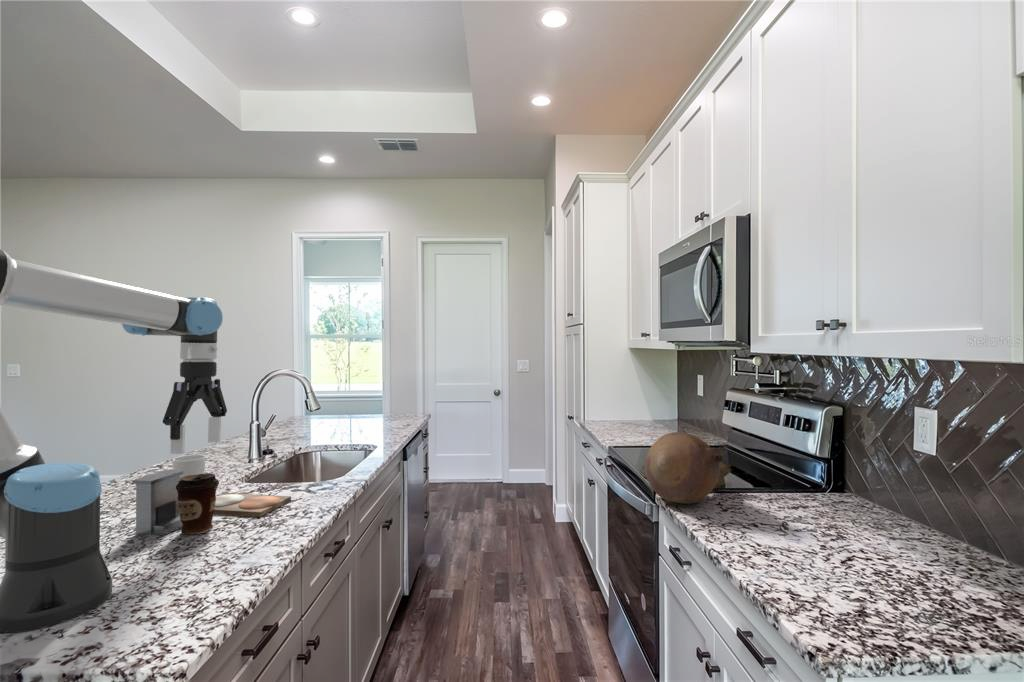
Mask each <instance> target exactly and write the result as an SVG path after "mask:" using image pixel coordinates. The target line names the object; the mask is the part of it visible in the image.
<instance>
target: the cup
mask: <svg viewBox="0 0 1024 682" xmlns="http://www.w3.org/2000/svg"><path fill="white" fill-rule="evenodd" d="M206 457H207V456H206V455H205V454H188V455H181V456H177V457H174V458H173V459H172V469H173V471H183V474H182V475H180V478H182V477H184V476H187V475H198V474H205V470H206V469H205V468H206V460H207V459H206Z"/></svg>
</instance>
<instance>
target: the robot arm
mask: <svg viewBox="0 0 1024 682" xmlns="http://www.w3.org/2000/svg"><path fill="white" fill-rule="evenodd" d="M0 306H7V307H11V308H12V307H13V308H20V309H25V310H32V311H37V312H45V313H52V314H57V315H63V316H71V317H75V318H76V317H77V318H83V319H90V320H96V321H101V322H108V323H114V324H115V323H116V324H120V325H122V327H123V330H124V331H125V332H126V333H128V334H130V335H139V336H140V335H141V336H143V337H144V336H163V337H165V336H168V337H169V336H170V337H171V336H174V337H180V347H179V348H180V349H179V351H180V352H179V353H180V354H179V359H180V360H182V361H181V362H180V363H179V377H181V378H184V381H174V382H173V390H172V394H171V397H170V399H169V403H168V406H167V407H166V411H165V413H164V417H163V419H162V424H163V425H165V426H169V427H170V430H169V431H170V432H169V433H170V434H169V438H170V455H172V454H173V455H175V454H176V455H177V454H178V455H183V454H185V450H186V449H185V446H186V445H185V444H186V443H185V442H186V425H185V424H183V423H184V421H185V419H186V418H187V416H188V414H189V412H190V411H191V408H192V406H193V404H194V402H197V401H198V400H202V402H203V404H204V406H205V407H206V409H207V411H208V413H209V414H210V416H209V417H208V425H207V426H208V428H207V430H208V433H207V443H211V444H212V443H213V444H214V443H215V444H217V443H221V427H222V426H221V424H222V422H221V421H222V417H226V415H227V414H226V413H228V409H227V405H226V402H225V399H224V395H223V392H222V387H221V379H220V378H213V377H216V375H217V367H218V366H217V362H216V361H215V360H216V359H217V351H218V348H217V343H218V330H219V329H220V327H222V324H223V312H222V310H221V307H220V306H219V305H218V303H217V300H215V299H213V298H208V297H198V296H197V297H194V296H190V297H188V296H187V297H181V296H178V295H177V296H175V295H171V294H168V293H163V292H161V291H154V290H150V289H146V288H142V287H137V286H132V285H128V284H124V283H119V282H115V281H111V280H107V279H103V278H98V277H94V276H89V275H86V274H80V273H76V272H71V271H69V270H63V269H58V268H54V267H49V266H46V265H40V264H36V263H32V262H27V261H25V260H24V261H23V260H19V259H15V258H12V257H11V256H10V255H9V253H8V252H7V251H5V250H3V249H0ZM6 415H7V414H5V412H4V410H3V408H2V406H1V405H0V537H1V538H3V539H5V540H4V541H5V543H4V545H5V546H4V549H5V550H4V551H5V552H4V554H5V559H4V560H5V562H4V563H5V564H4V565H5V567H4V570H5V571H4V575H3V577H2V579H1V582H0V633H19V632H26V631H33V630H37V629H43V628H46V627H50V626H54V625H57V624H60V623H63V622H66V621H68V620H71V619H74V618H76V617H79V616H82V615H84V614H85V613H88V612H90V611H91V610H94V609H95V608H97V607H99V606H100V605H102V604H103V603H105V602H106V601H107V600H108V599H109V598H110V597H111V596H112V594H113V577H112V574H110V571H109V569H108V567H107V563H106V561H105V560H104V557H103V555H102V553H101V546H100V545H101V544H100V542H101V541H100V538H101V494H102V484H101V478H100V472H99V471H98V470H97V468H95V467H94V466H92V465H90V464H86V463H83V462H82V463H81V462H70V463H68V461H67V462H52V463H51V462H50V463H46V462H45V460H44V458H43V456H42V455H41V453H40V450H39V449H38V448H37V446H34V445H29V444H26V443H25V444H24V443H22V442H21V441H20V440H21V439H19V437H18V436H17V433H16V432H15V430H14V428H13V426H12V424H11V422H10V421H9V418H8V416H6Z"/></svg>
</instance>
